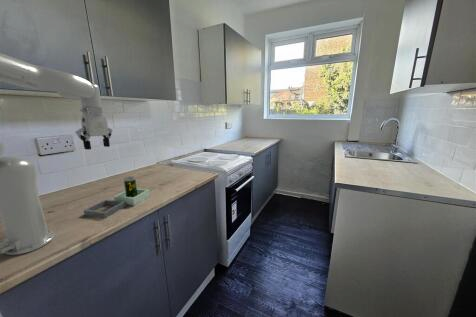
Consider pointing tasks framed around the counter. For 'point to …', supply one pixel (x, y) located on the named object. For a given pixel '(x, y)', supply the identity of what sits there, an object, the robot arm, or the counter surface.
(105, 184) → the counter surface
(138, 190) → the green bin
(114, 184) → the counter surface
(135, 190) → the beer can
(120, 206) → the tray
